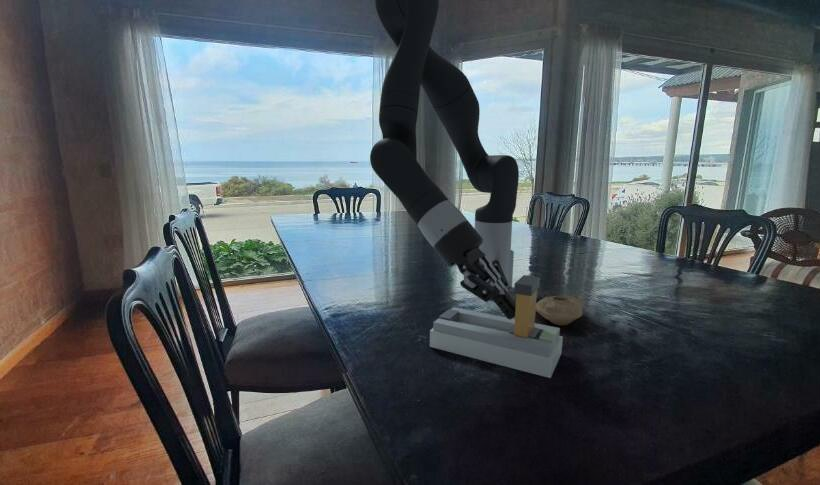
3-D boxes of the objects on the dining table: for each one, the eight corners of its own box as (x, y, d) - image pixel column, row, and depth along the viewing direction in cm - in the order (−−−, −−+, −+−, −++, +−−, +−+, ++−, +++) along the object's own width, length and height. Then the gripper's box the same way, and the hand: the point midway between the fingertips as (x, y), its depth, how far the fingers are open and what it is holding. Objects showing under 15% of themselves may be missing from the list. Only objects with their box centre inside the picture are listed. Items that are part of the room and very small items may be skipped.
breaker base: (429, 346, 67) (430, 320, 66) (451, 328, 75) (452, 304, 74) (550, 378, 57) (552, 347, 56) (561, 353, 65) (563, 326, 64)
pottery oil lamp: (599, 316, 80) (607, 292, 76) (559, 346, 76) (564, 322, 71) (564, 292, 86) (569, 268, 82) (525, 318, 82) (528, 295, 77)
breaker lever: (506, 342, 62) (510, 282, 60) (516, 330, 66) (519, 274, 65) (532, 348, 60) (536, 286, 58) (540, 335, 64) (544, 278, 63)
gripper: (447, 223, 60) (522, 316, 56) (479, 215, 71) (543, 292, 67) (416, 253, 63) (484, 342, 59) (451, 240, 74) (510, 315, 71)
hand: (515, 315), depth 63 cm, fingers closed
